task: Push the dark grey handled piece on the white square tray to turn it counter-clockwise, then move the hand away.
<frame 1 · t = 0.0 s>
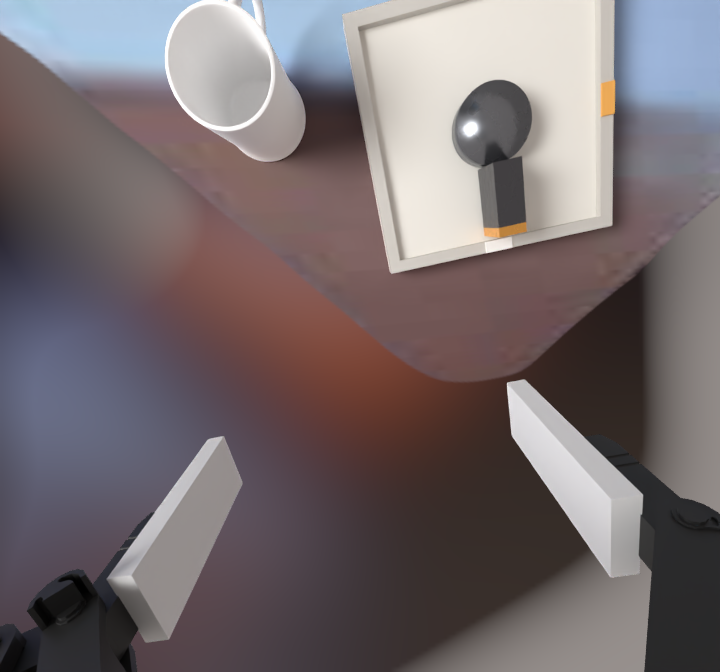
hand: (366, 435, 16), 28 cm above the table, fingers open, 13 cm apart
mug: (269, 101, 36), on the table
white square tray: (478, 135, 36), on the table
dark grey handled piece: (498, 161, 33), point 5 cm above the table, hinge at 0.0°
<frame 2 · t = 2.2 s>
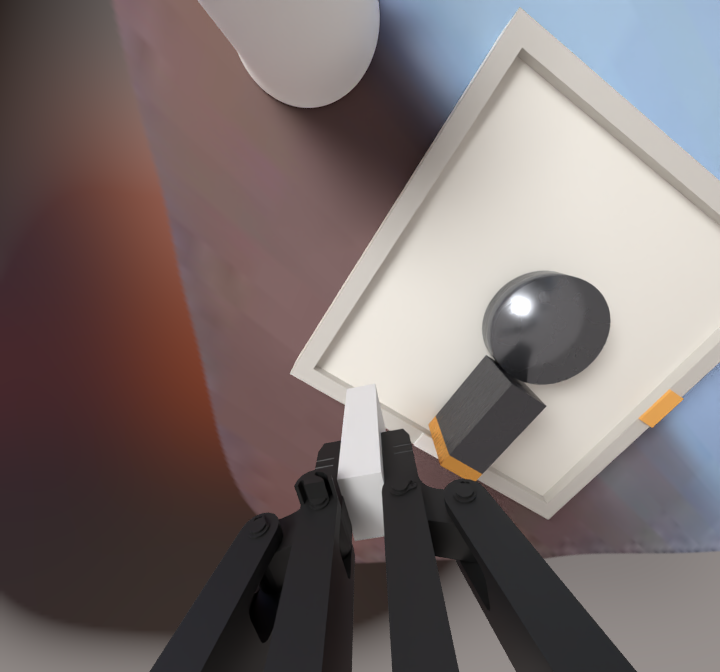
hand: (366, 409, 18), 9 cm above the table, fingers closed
mug: (330, 7, 19), on the table
white square tray: (519, 313, 25), on the table
dark grey handled piece: (515, 376, 21), point 5 cm above the table, hinge at 0.0°
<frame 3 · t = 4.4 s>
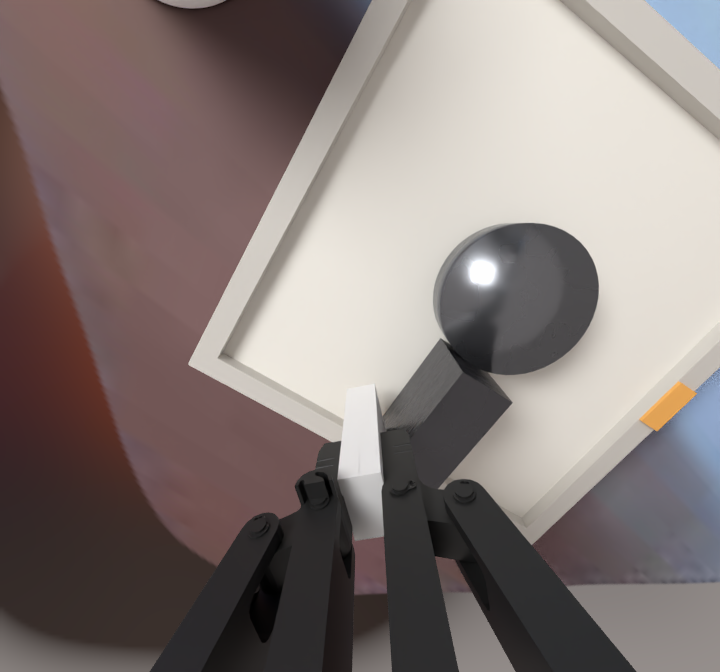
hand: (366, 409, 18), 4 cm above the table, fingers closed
white square tray: (485, 286, 20), on the table
dark grey handled piece: (474, 364, 16), point 5 cm above the table, hinge at 0.3°, touching gripper
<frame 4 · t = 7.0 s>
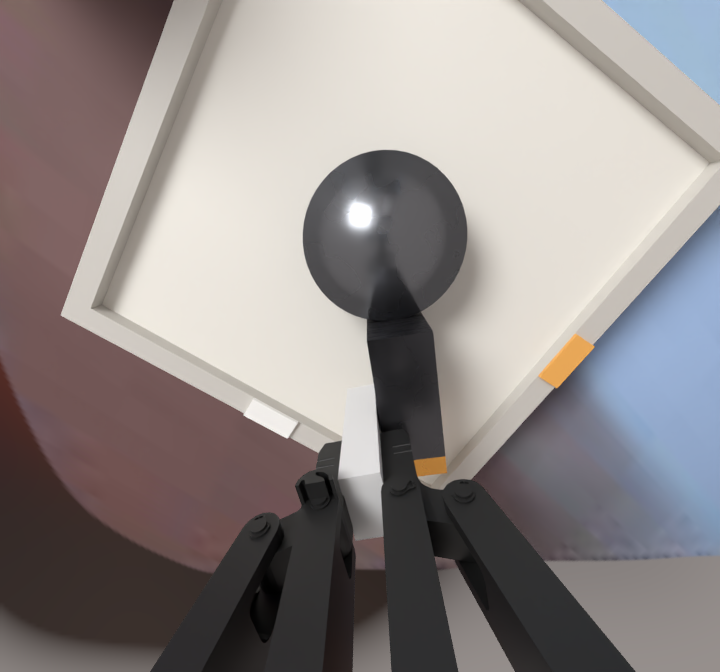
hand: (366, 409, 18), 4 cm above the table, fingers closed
white square tray: (380, 238, 19), on the table
dark grey handled piece: (394, 318, 15), point 5 cm above the table, hinge at 41.3°, touching gripper
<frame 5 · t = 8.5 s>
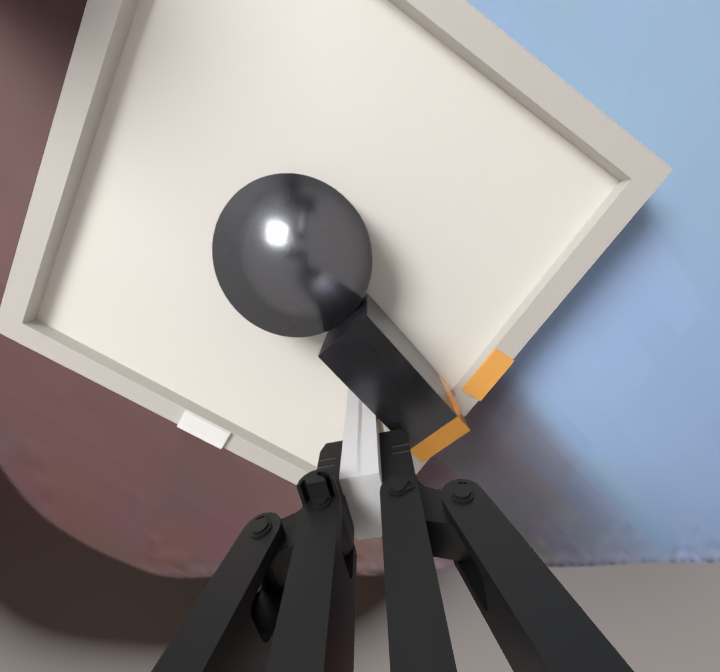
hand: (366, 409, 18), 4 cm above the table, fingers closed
white square tray: (309, 252, 19), on the table
dark grey handled piece: (343, 318, 15), point 5 cm above the table, hinge at 73.5°, touching gripper
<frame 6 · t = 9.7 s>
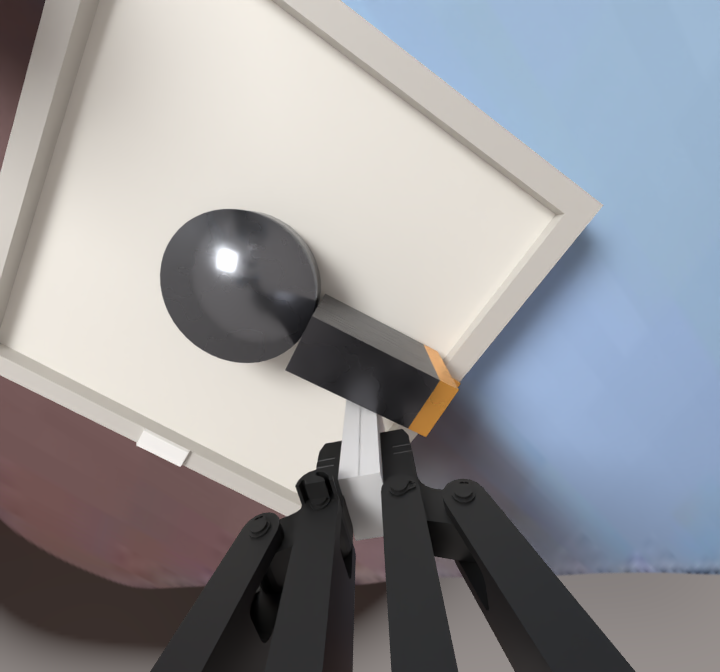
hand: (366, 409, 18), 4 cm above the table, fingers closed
white square tray: (266, 276, 20), on the table
dark grey handled piece: (304, 326, 16), point 5 cm above the table, hinge at 94.7°, touching gripper
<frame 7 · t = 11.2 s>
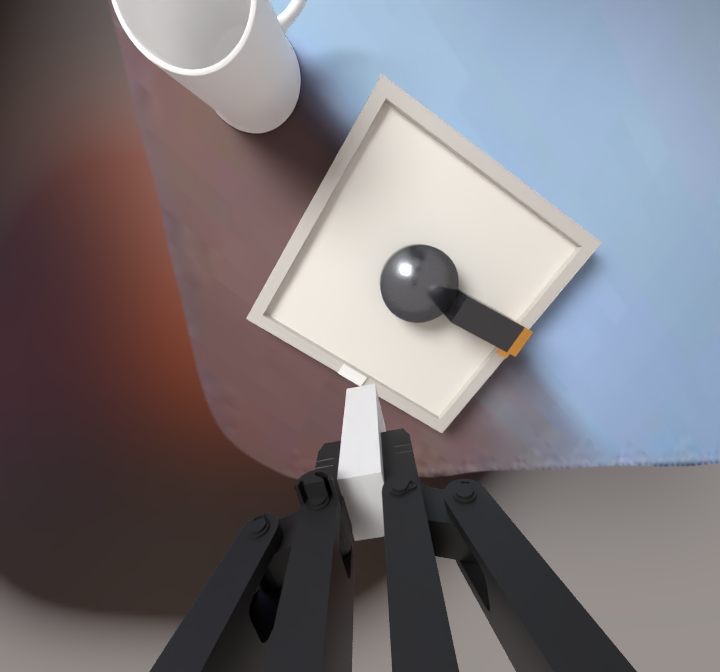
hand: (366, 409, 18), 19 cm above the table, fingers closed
mug: (268, 68, 30), on the table
white square tray: (412, 277, 35), on the table
dark grey handled piece: (451, 302, 31), point 5 cm above the table, hinge at 94.7°
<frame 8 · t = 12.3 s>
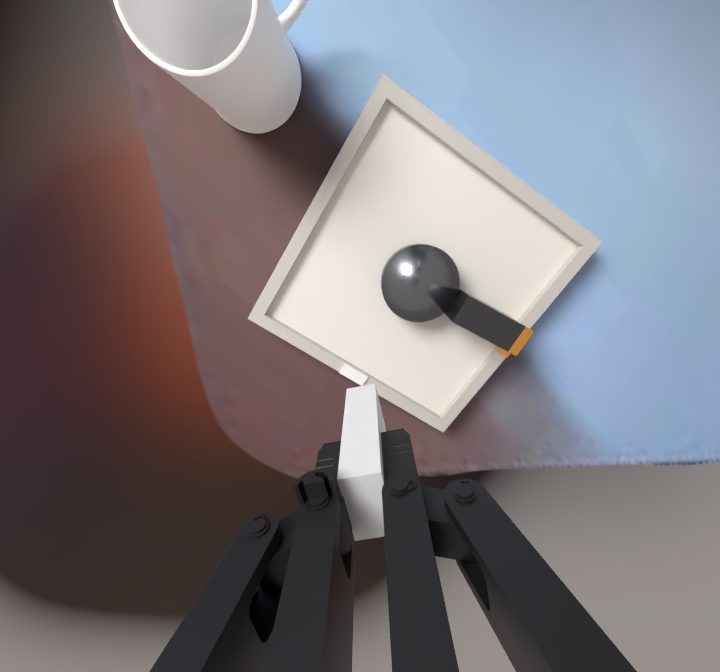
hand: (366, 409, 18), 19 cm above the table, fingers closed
mug: (269, 69, 30), on the table
white square tray: (413, 277, 35), on the table
dark grey handled piece: (452, 302, 31), point 5 cm above the table, hinge at 94.7°
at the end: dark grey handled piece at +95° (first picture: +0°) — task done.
